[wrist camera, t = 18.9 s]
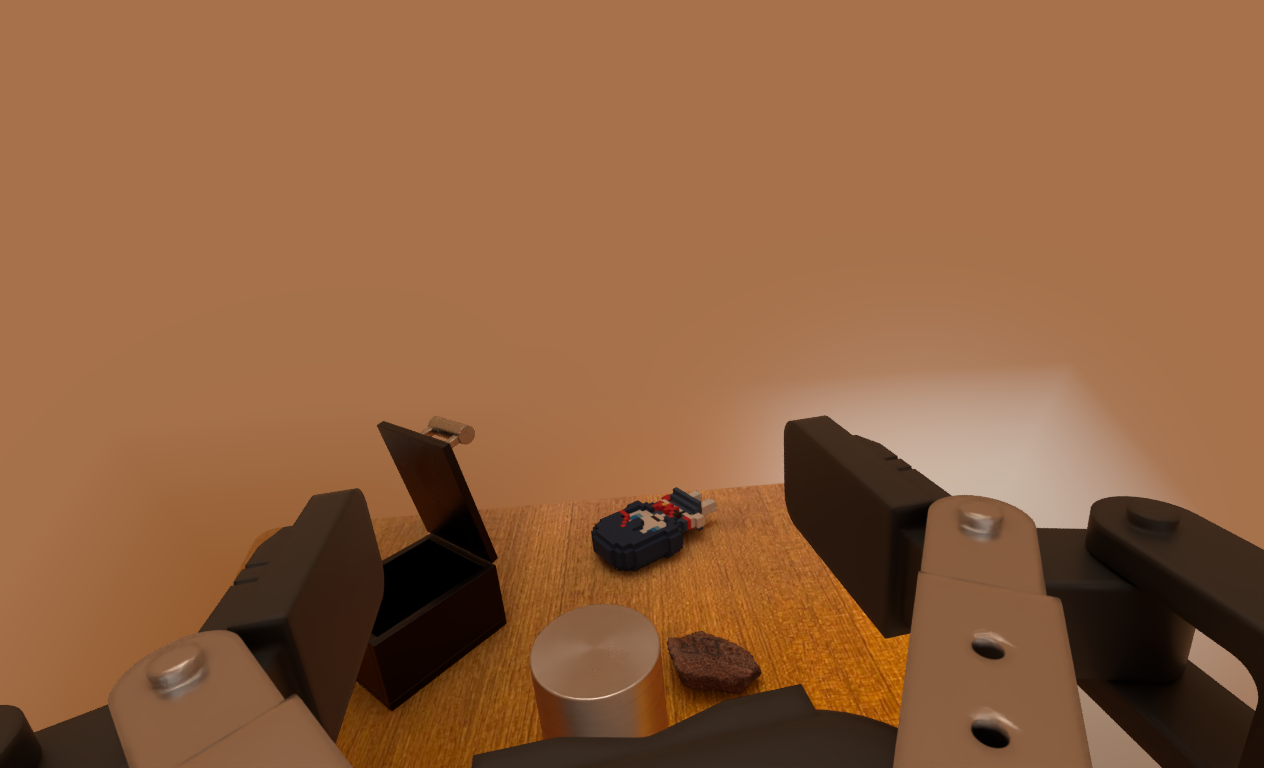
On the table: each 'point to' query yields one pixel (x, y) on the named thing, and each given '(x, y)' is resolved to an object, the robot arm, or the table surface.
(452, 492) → the lid
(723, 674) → the stone
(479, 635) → the dark brown box
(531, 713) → the table surface
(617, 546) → the figurine
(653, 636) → the canister
